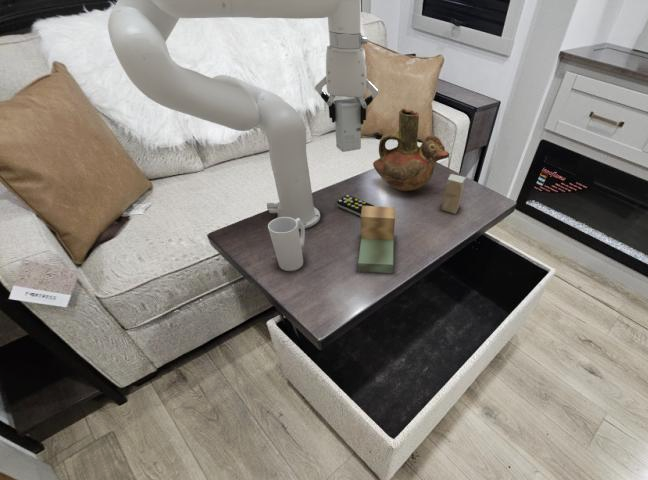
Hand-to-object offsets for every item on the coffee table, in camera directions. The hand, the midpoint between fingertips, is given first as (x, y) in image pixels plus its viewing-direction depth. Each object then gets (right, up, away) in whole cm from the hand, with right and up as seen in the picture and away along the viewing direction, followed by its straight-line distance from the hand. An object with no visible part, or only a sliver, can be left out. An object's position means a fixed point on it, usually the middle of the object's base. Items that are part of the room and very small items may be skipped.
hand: (348, 121), depth 92 cm
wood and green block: (+8, -36, +1) cm, 37 cm away
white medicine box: (-1, -5, +5) cm, 7 cm away
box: (+31, -19, +20) cm, 42 cm away
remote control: (0, -20, +17) cm, 26 cm away
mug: (-14, -39, -2) cm, 41 cm away
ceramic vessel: (+17, -9, +29) cm, 35 cm away
